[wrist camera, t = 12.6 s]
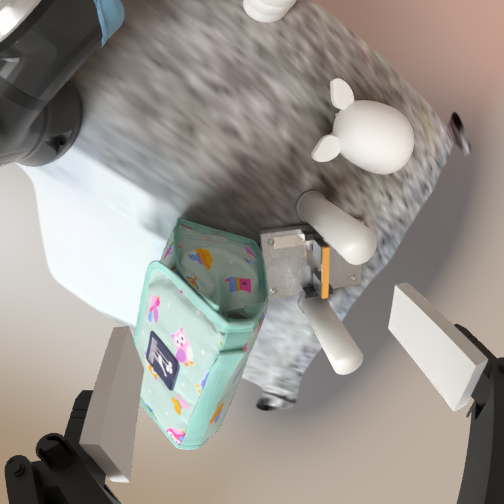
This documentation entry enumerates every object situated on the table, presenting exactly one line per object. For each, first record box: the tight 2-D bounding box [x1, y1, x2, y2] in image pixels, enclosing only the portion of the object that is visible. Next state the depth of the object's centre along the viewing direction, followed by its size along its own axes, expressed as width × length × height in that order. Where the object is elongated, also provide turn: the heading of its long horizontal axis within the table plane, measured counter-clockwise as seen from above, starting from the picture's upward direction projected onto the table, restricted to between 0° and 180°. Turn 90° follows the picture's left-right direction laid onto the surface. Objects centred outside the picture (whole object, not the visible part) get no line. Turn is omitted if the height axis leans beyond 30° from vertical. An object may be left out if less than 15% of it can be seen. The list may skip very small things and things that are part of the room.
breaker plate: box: [259, 218, 365, 300], centre depth 53 cm, size 18×12×4 cm, turn 95°
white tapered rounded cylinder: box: [298, 294, 363, 375], centre depth 50 cm, size 5×5×18 cm
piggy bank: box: [311, 78, 414, 174], centre depth 43 cm, size 12×12×15 cm
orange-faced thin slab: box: [313, 239, 330, 299], centre depth 51 cm, size 1×9×4 cm, turn 4°
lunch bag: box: [133, 218, 269, 450], centre depth 42 cm, size 23×16×27 cm
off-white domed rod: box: [296, 190, 377, 265], centre depth 43 cm, size 5×5×18 cm
